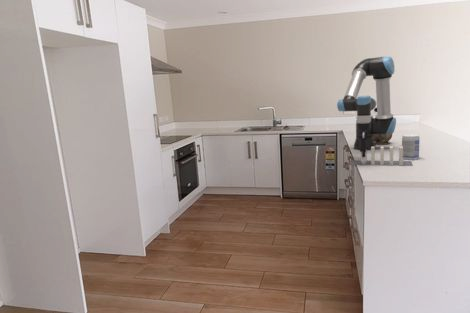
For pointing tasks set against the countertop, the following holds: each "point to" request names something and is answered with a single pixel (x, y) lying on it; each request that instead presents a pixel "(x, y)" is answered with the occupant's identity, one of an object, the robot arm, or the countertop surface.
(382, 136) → the ceramic jug
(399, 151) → the domino
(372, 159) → the domino
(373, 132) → the robot arm
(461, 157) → the countertop surface
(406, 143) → the supplement tub
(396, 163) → the mat
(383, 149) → the domino
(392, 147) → the domino
